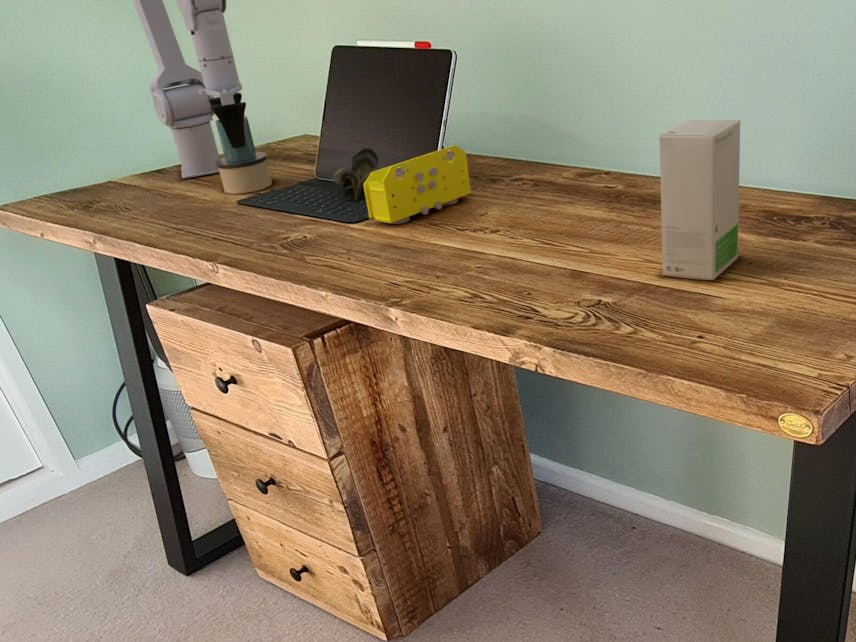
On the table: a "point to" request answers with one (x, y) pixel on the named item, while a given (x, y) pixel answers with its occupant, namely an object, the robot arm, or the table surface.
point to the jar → (245, 174)
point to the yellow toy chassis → (417, 185)
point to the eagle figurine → (357, 171)
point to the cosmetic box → (700, 197)
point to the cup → (240, 152)
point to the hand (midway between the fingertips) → (237, 143)
